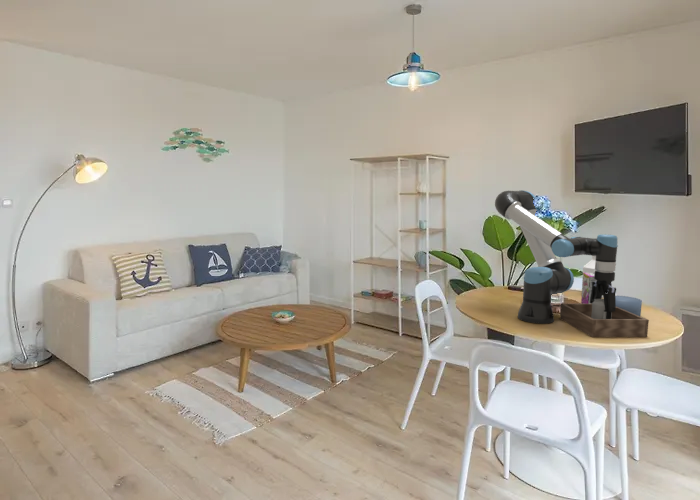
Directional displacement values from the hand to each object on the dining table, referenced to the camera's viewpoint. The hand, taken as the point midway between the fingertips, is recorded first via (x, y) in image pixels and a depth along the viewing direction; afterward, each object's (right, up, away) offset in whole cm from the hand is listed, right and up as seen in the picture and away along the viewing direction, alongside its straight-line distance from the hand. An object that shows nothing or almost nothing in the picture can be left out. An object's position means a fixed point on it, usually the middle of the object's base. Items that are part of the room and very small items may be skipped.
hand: (600, 323), depth 189 cm
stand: (+21, +1, +18) cm, 28 cm away
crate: (0, -2, 0) cm, 2 cm away
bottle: (+29, +6, +59) cm, 66 cm away
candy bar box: (+15, +3, +36) cm, 39 cm away
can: (0, -2, 0) cm, 2 cm away
